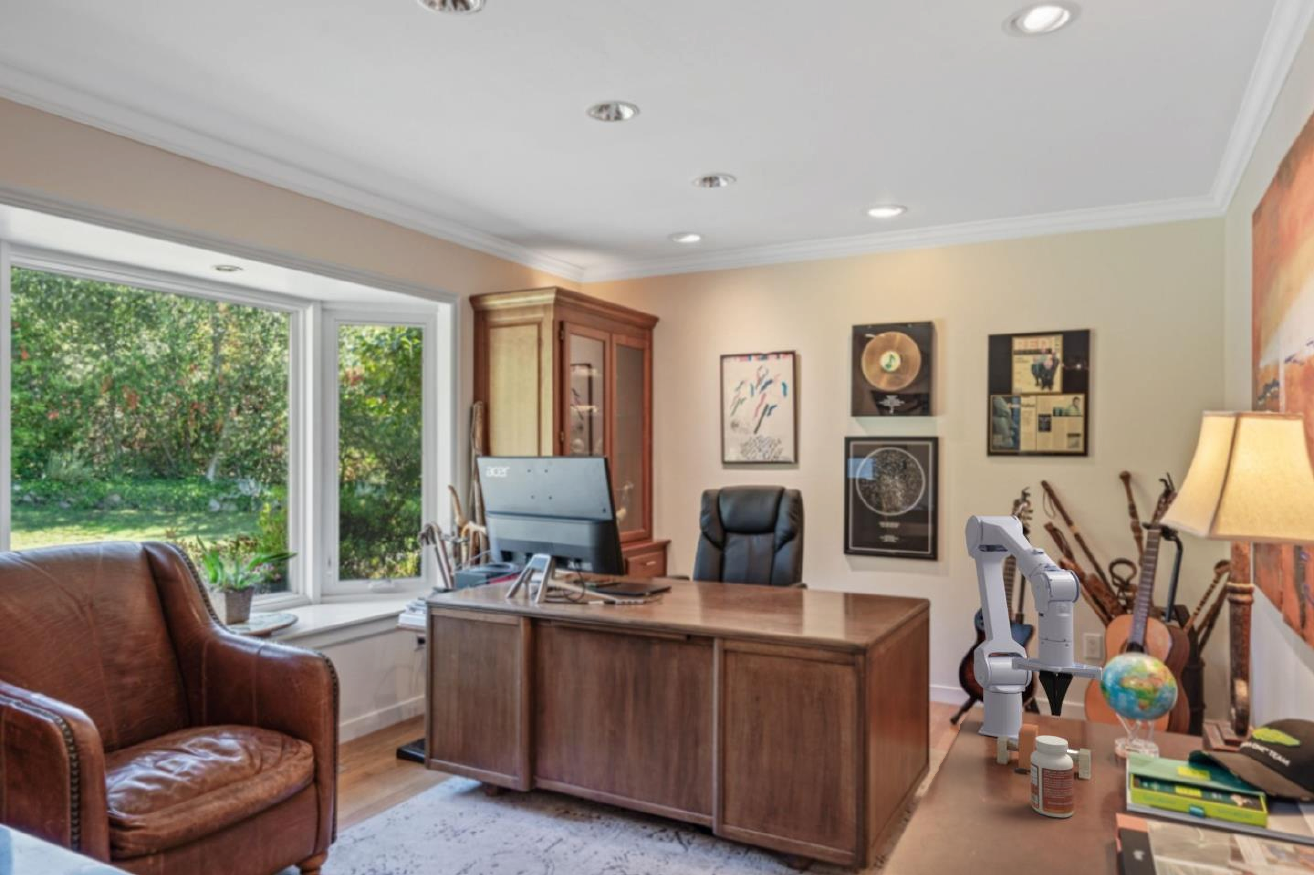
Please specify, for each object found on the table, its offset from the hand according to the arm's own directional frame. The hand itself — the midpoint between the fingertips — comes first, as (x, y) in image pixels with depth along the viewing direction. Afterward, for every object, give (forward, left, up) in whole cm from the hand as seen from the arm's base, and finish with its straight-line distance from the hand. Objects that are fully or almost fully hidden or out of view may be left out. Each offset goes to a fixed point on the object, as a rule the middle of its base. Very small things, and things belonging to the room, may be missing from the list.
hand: (1056, 714), depth 148 cm
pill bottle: (+19, +1, -10) cm, 22 cm away
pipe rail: (0, -2, -10) cm, 10 cm away
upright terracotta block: (0, -5, -10) cm, 11 cm away
